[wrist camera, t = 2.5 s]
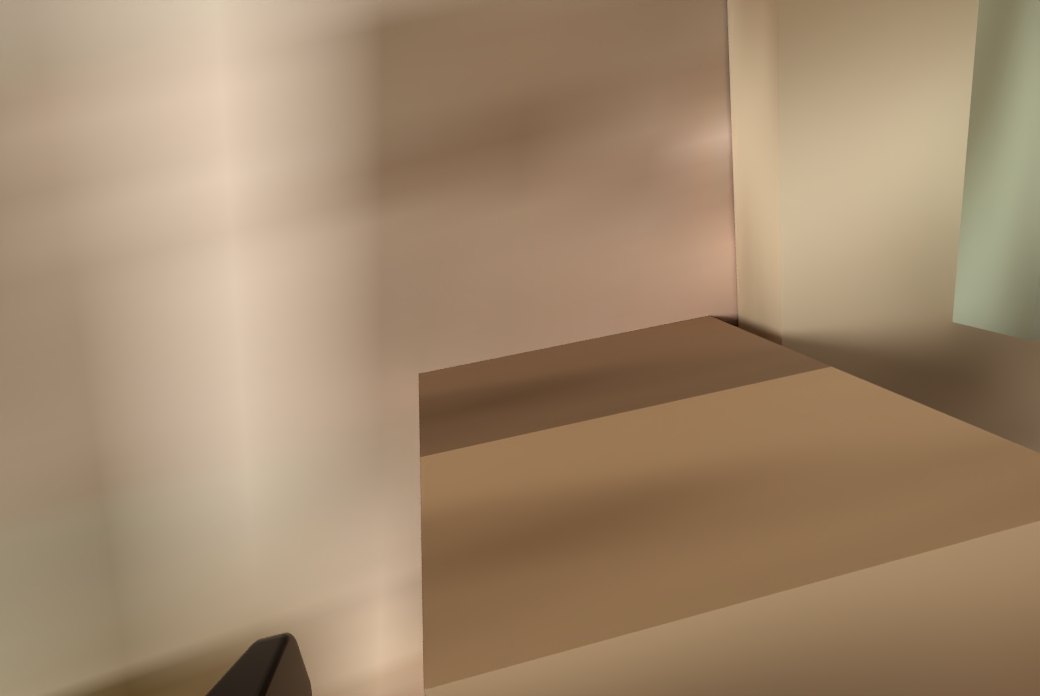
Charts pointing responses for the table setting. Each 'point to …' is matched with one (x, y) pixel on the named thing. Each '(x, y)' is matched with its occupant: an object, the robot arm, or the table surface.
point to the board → (894, 195)
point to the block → (717, 528)
